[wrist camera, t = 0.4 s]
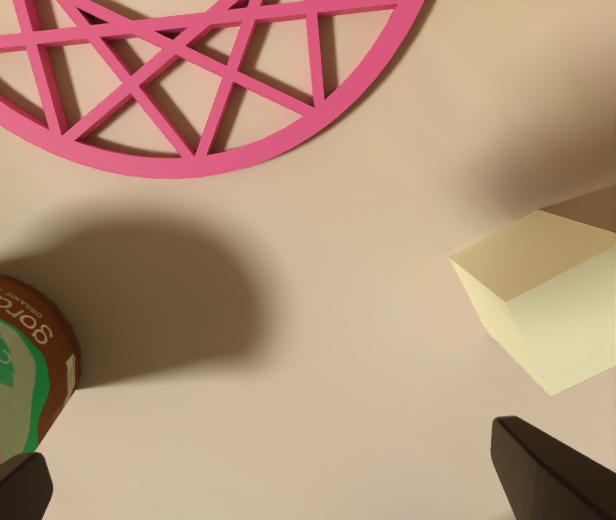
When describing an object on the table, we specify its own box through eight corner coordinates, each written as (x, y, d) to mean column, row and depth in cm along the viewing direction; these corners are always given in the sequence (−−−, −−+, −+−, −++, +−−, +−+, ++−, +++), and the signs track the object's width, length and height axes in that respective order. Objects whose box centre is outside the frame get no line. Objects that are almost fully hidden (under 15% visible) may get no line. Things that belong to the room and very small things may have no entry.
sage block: (569, 287, 22) (666, 340, 16) (485, 330, 22) (550, 396, 17) (537, 209, 20) (630, 237, 15) (448, 257, 21) (505, 302, 15)
